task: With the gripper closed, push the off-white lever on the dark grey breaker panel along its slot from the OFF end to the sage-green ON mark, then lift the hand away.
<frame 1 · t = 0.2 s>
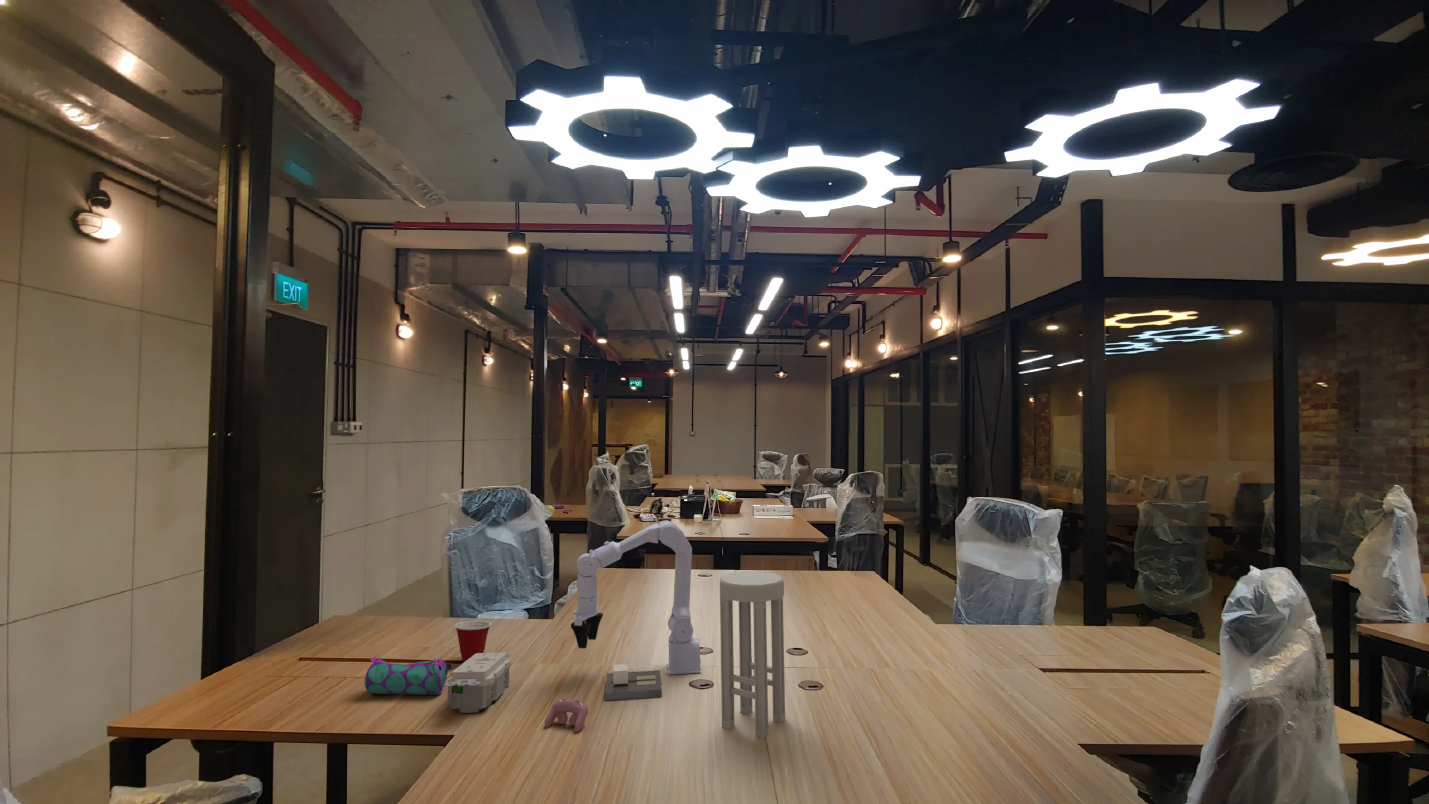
hand: (587, 643, 184), 10 cm above the table, tool pointing down, fingers open, 7 cm apart
breaker panel: (633, 688, 175), on the table
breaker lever: (620, 673, 175), point 4 cm above the table, slide at 0.0 cm
plastic cup: (473, 662, 198), on the table
video game controller: (566, 726, 154), on the table
electrical outlet: (480, 699, 170), on the table
pencil case: (407, 694, 175), on the table
stool: (753, 724, 153), on the table
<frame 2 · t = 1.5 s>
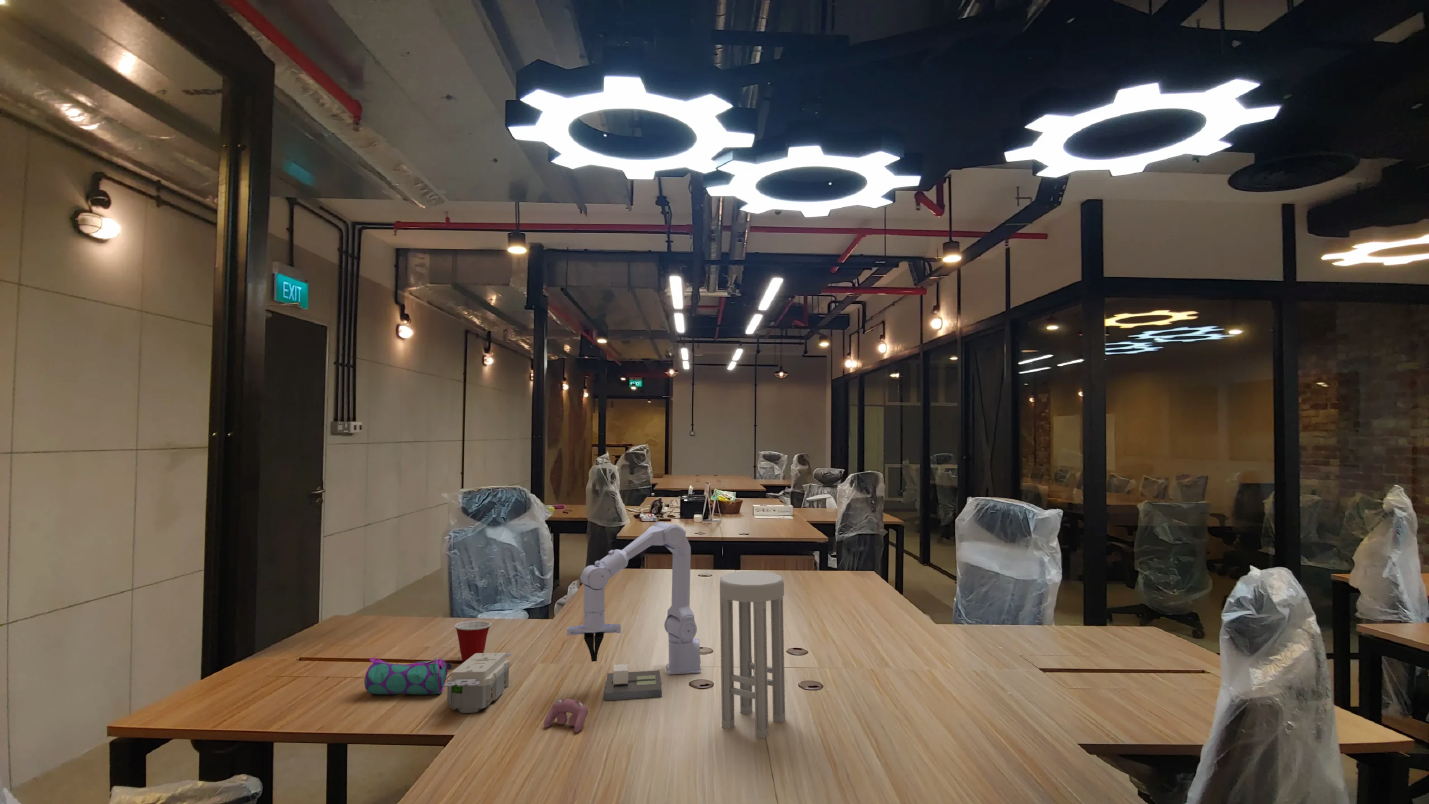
hand: (594, 660, 175), 8 cm above the table, tool pointing down, fingers closed
nothing on the table moved.
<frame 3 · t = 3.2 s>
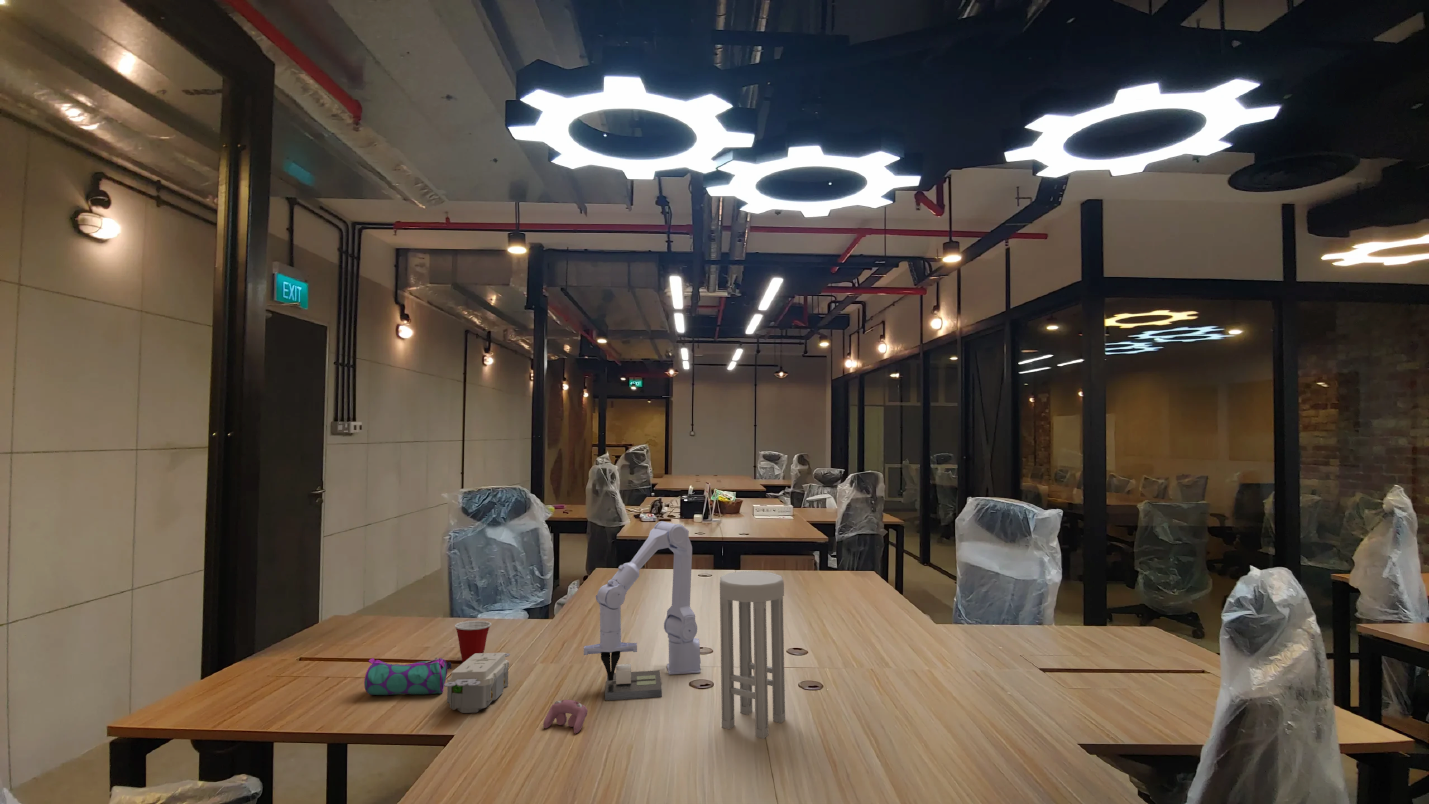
hand: (610, 679, 175), 3 cm above the table, tool pointing down, fingers closed
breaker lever: (623, 673, 175), point 4 cm above the table, slide at 0.8 cm, touching gripper
everything else where it was.
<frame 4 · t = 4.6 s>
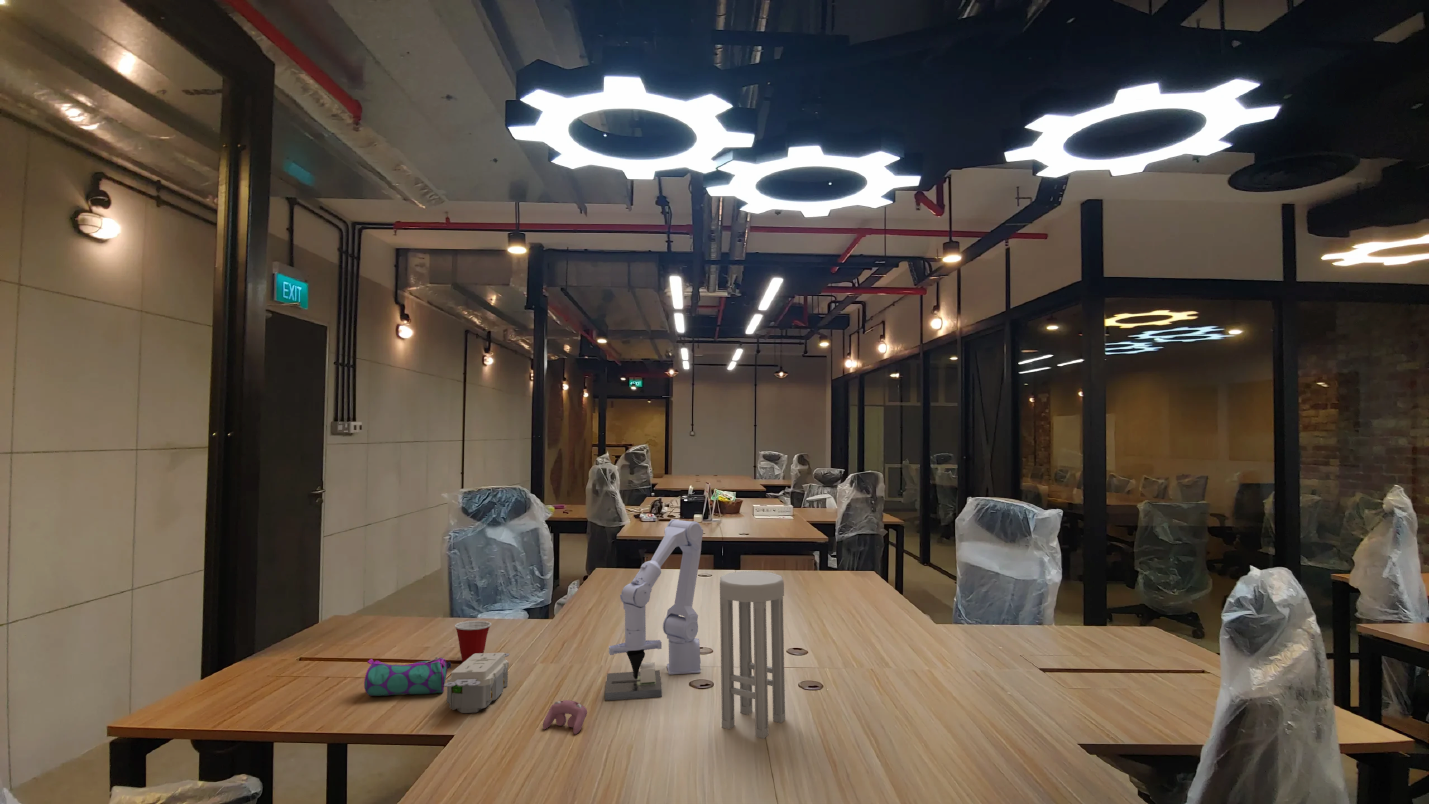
hand: (635, 677, 176), 3 cm above the table, tool pointing down, fingers closed
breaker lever: (647, 672, 176), point 4 cm above the table, slide at 7.4 cm, touching gripper
everything else where it was.
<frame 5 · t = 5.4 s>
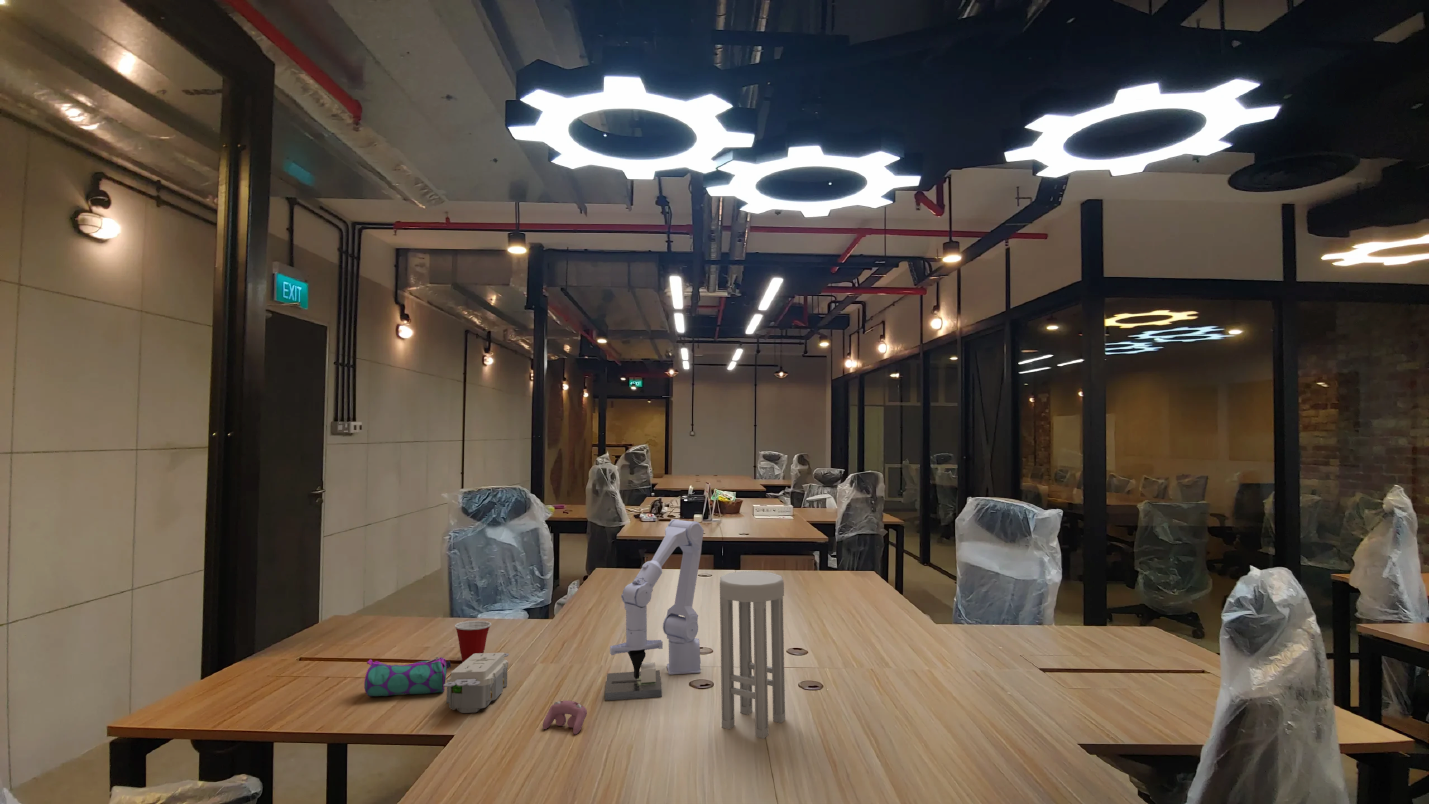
hand: (636, 677, 176), 3 cm above the table, tool pointing down, fingers closed
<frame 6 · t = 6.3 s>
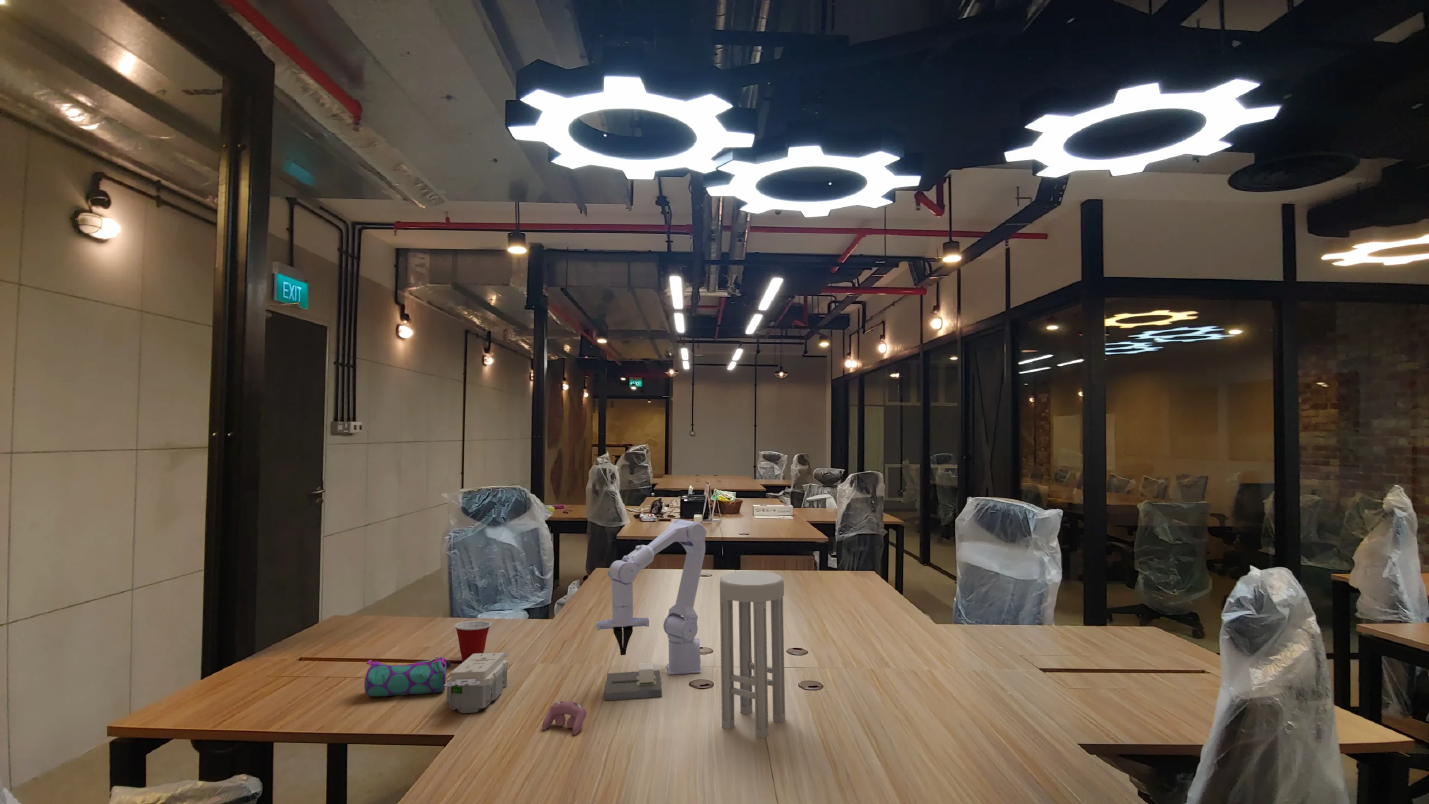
hand: (623, 653, 176), 9 cm above the table, tool pointing down, fingers closed
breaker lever: (646, 672, 176), point 4 cm above the table, slide at 7.1 cm
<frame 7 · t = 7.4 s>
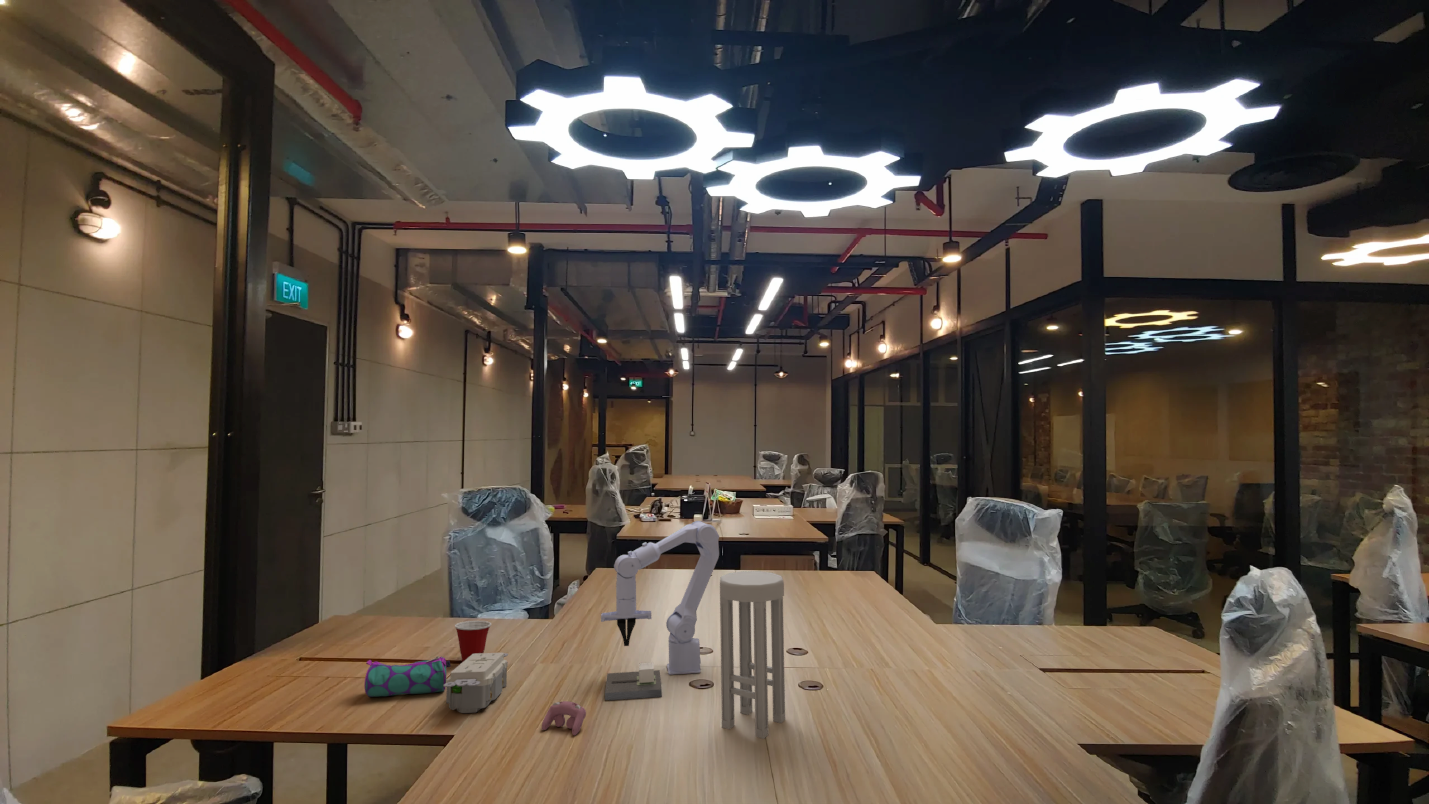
hand: (626, 644, 184), 9 cm above the table, tool pointing down, fingers closed
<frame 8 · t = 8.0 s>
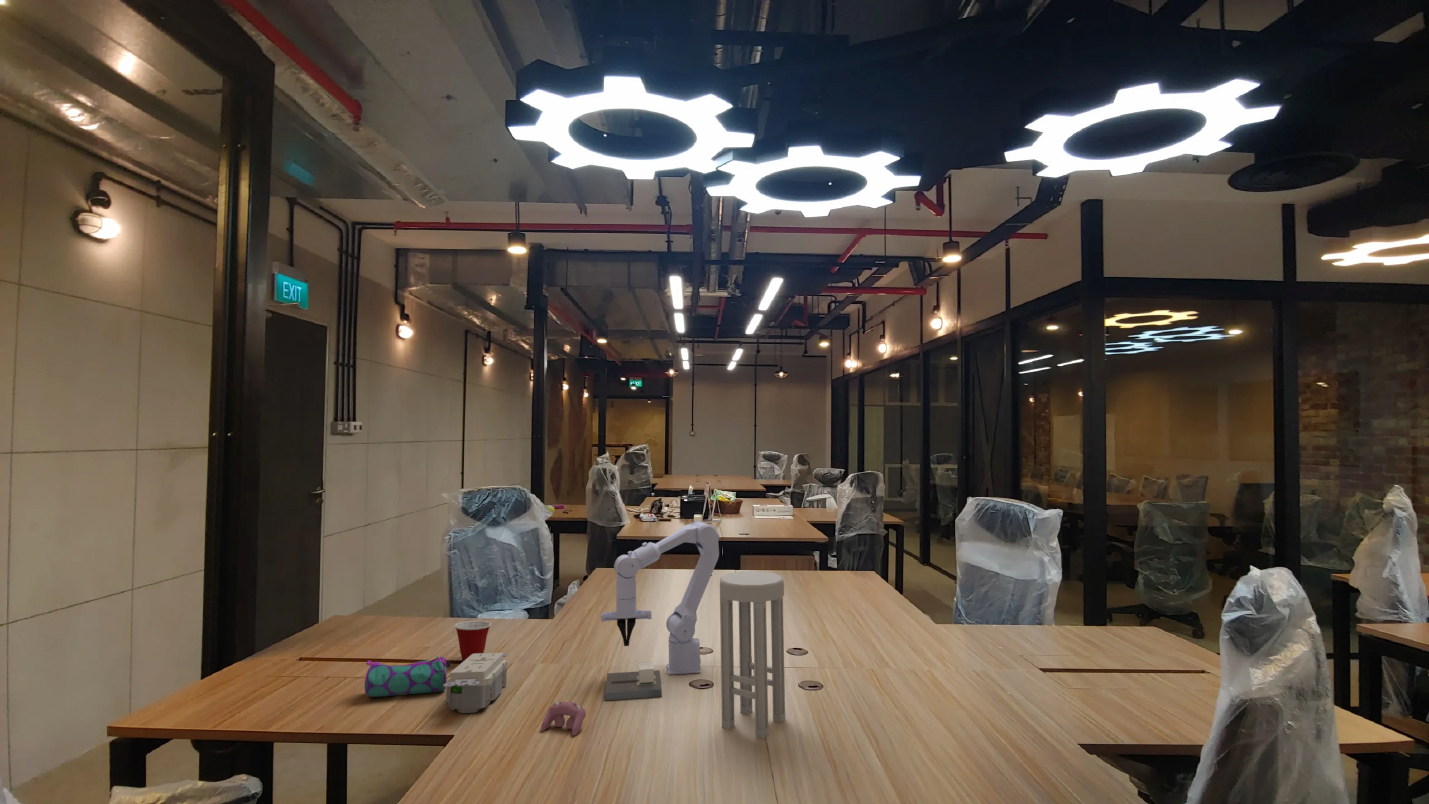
hand: (626, 644, 184), 9 cm above the table, tool pointing down, fingers closed
at the end: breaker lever slide at 7.1 cm; video game controller moved 1.9 cm from its start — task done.
